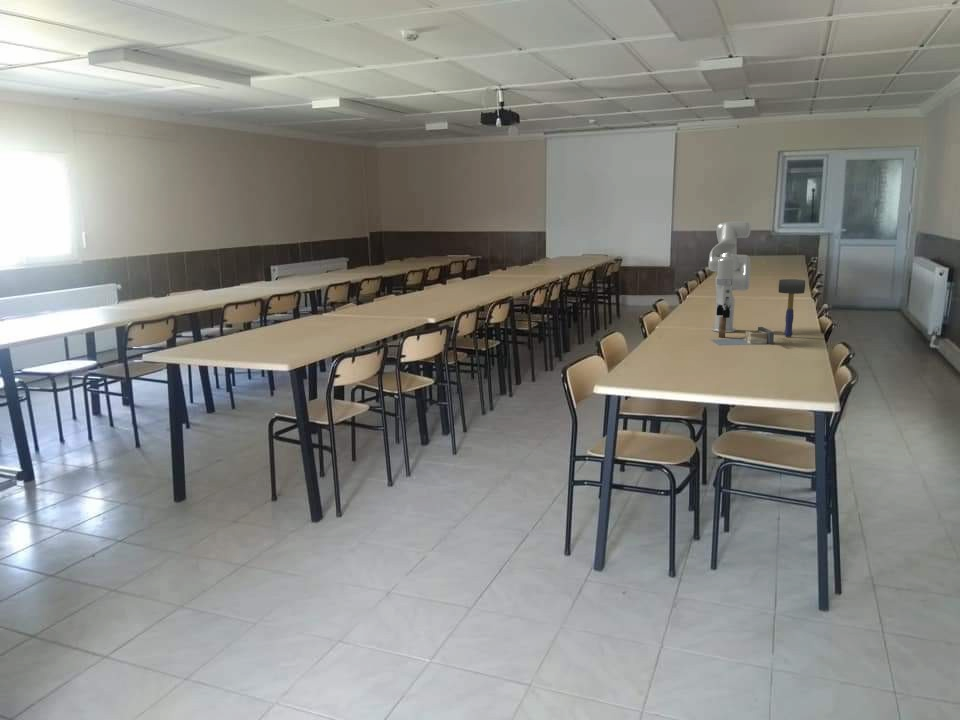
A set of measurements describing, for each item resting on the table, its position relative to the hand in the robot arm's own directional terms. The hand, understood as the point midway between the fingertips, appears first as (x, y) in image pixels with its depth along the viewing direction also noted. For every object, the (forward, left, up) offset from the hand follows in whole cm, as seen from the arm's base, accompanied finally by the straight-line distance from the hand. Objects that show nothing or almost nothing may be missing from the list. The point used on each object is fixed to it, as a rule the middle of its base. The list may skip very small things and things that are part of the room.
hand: (722, 316), depth 356 cm
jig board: (+12, +5, -12) cm, 18 cm away
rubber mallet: (-6, +36, -13) cm, 39 cm away
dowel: (-1, 0, -12) cm, 12 cm away
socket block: (+13, +12, -11) cm, 21 cm away
